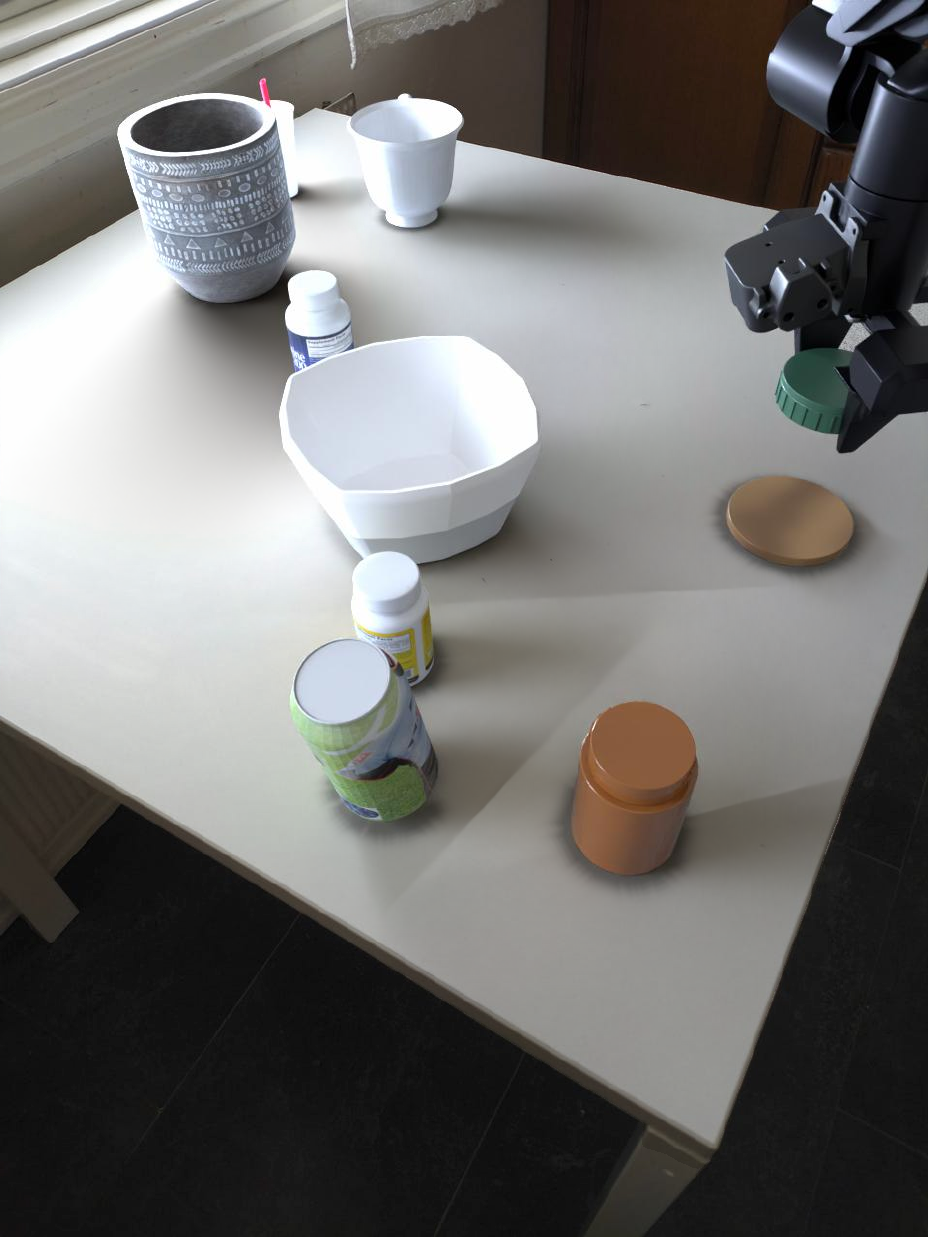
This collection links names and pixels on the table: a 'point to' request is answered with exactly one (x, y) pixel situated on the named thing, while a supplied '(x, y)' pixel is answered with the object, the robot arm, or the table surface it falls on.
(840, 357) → the jar lid
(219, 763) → the table surface
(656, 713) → the jam jar
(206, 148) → the planter
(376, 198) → the teacup
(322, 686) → the beverage can
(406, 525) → the bowl
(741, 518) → the coaster
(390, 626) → the supplement bottle
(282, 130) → the cup
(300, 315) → the pill bottle
